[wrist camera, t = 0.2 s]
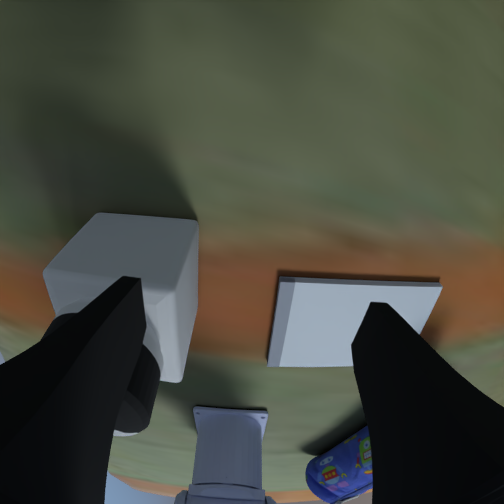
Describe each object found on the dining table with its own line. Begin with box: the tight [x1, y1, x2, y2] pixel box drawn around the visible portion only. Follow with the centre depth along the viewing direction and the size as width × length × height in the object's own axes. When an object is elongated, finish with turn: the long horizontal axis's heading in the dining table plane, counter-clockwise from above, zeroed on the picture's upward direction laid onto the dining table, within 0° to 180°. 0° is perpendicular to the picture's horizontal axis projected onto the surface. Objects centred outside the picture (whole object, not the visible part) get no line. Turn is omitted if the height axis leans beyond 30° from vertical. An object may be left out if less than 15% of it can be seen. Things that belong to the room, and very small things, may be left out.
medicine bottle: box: [41, 212, 199, 436], centre depth 15 cm, size 7×7×12 cm
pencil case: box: [306, 426, 373, 504], centre depth 30 cm, size 22×9×10 cm, turn 155°
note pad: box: [267, 276, 443, 367], centre depth 23 cm, size 9×13×1 cm
